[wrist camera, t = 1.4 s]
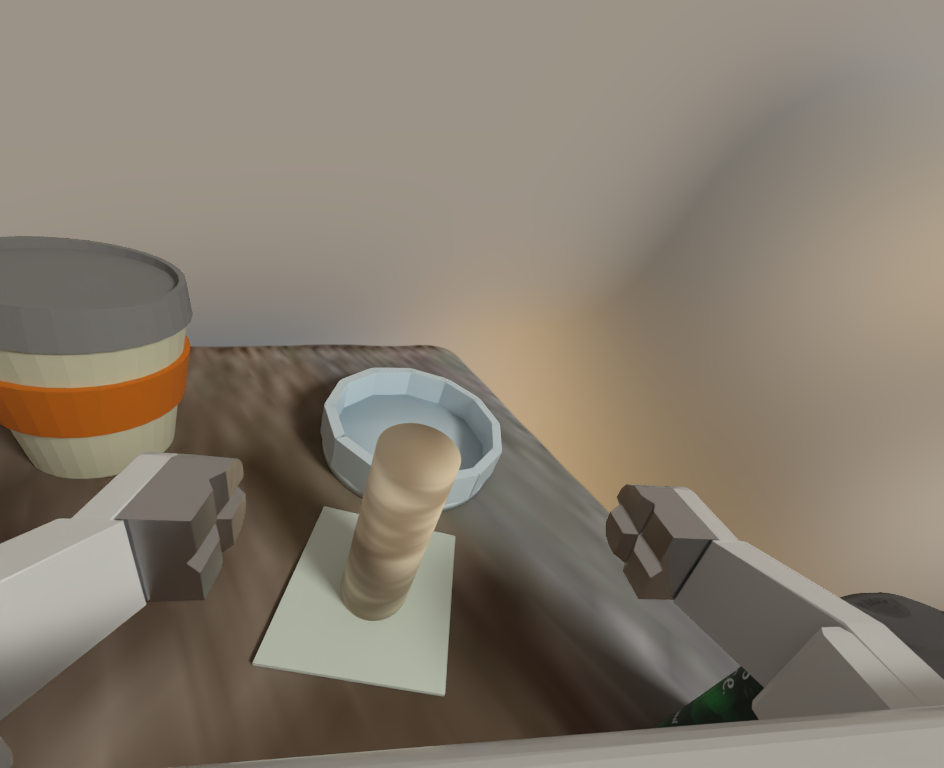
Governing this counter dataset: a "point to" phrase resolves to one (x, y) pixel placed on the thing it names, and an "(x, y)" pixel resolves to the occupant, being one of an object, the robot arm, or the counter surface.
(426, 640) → the mat
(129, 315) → the reusable coffee cup
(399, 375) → the bowl
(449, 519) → the counter surface
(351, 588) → the pepper mill
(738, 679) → the coffee jar
